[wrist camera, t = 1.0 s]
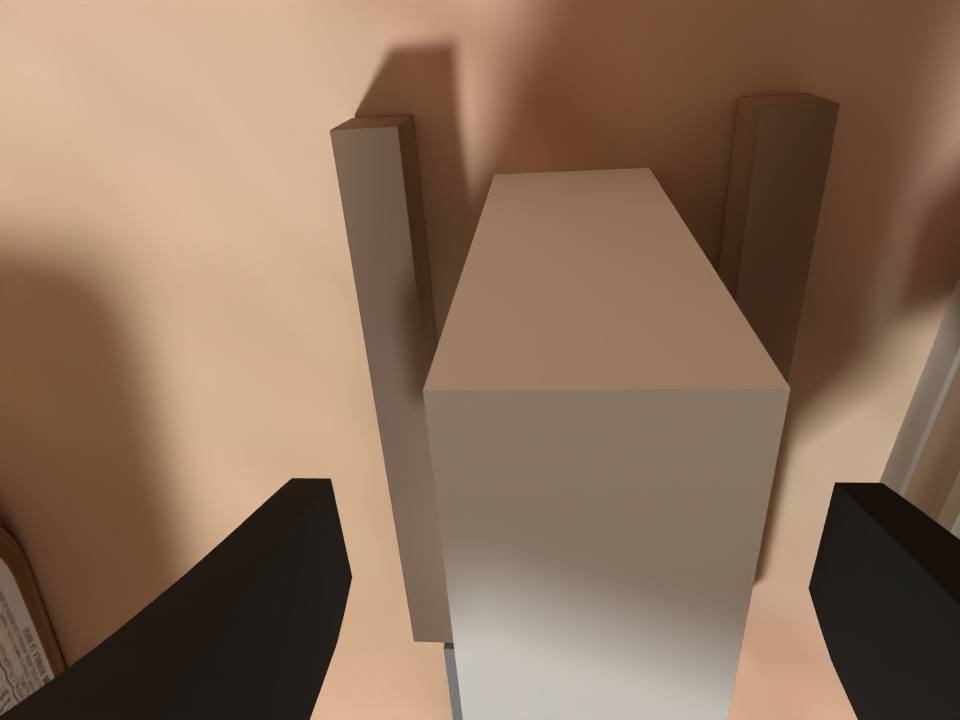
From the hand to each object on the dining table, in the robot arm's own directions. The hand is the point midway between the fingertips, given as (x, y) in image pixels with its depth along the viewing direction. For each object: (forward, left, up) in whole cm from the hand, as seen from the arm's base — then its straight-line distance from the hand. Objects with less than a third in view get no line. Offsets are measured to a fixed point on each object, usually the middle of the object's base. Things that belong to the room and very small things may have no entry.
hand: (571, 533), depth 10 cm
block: (0, 0, -4) cm, 4 cm away
